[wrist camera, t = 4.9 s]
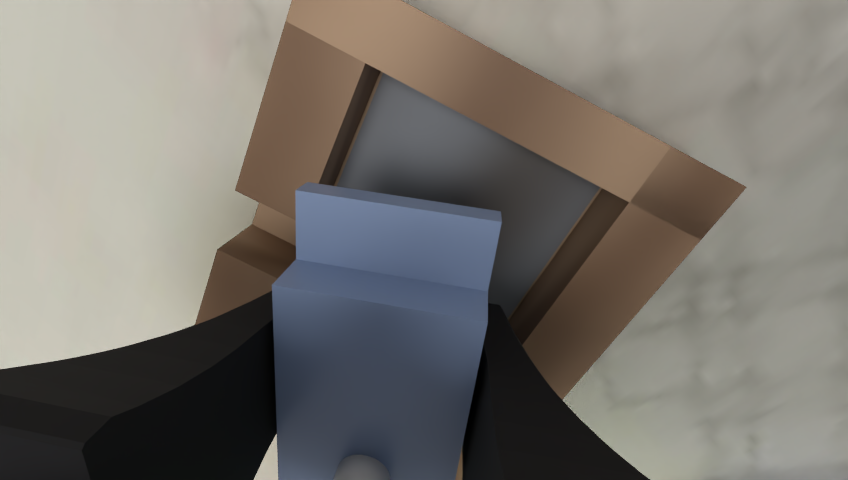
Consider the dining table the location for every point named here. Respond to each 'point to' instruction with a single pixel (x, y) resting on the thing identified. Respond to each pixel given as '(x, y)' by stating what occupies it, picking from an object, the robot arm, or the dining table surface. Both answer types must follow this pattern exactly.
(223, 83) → the dining table surface
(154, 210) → the dining table surface
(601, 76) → the dining table surface
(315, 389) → the block
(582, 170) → the brown wooden flat frame
